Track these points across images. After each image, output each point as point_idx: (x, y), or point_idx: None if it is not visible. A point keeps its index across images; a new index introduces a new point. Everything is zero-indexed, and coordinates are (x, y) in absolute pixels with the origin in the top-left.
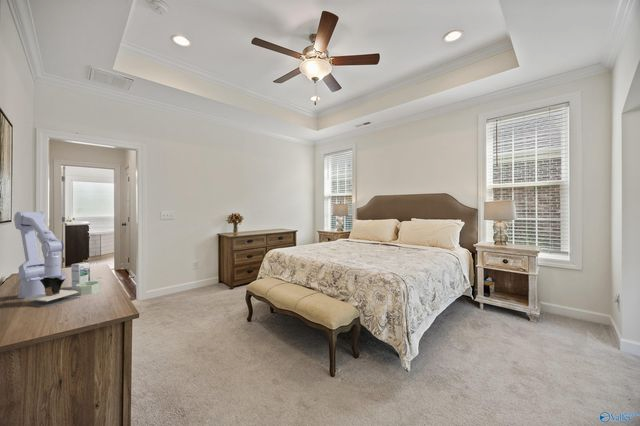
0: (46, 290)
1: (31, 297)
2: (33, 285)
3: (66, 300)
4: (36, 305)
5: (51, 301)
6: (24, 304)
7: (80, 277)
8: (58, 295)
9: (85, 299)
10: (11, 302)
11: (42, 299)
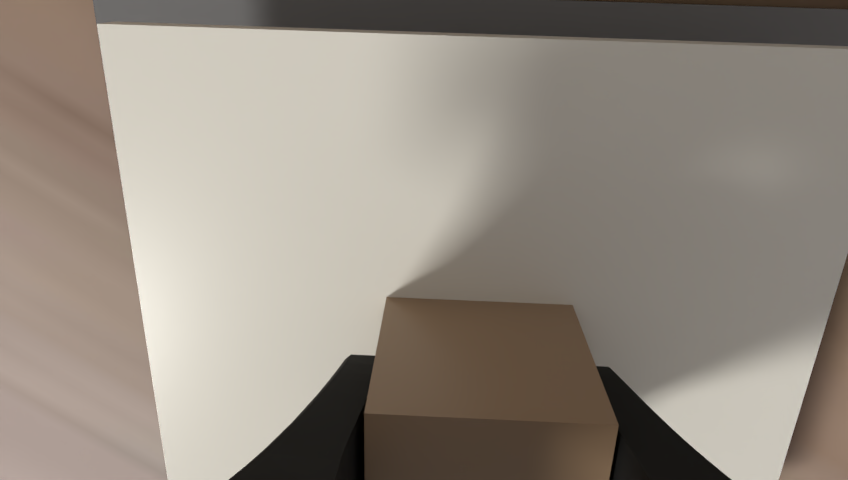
0: (565, 377)
1: (765, 107)
2: None
3: None
4: (458, 13)
5: None
6: (809, 9)
7: None
8: (261, 351)
9: (25, 460)
10: None
11: (270, 40)
